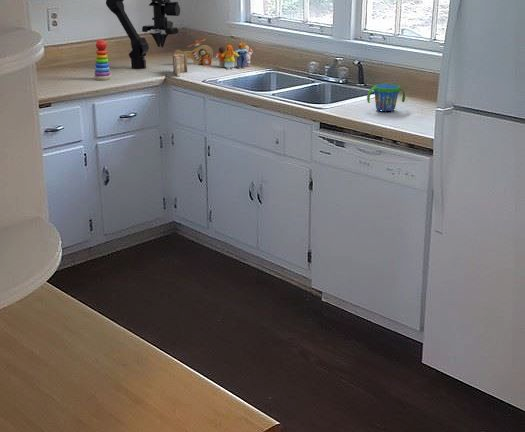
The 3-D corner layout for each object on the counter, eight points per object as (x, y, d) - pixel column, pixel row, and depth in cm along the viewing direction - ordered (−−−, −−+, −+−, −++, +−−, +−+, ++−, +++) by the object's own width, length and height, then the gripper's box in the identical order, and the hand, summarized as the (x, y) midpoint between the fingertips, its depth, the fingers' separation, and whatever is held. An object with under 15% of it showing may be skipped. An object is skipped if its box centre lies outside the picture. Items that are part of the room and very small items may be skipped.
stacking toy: (97, 81, 387) (94, 41, 380) (92, 78, 393) (89, 39, 386) (113, 79, 390) (110, 40, 383) (108, 76, 397) (105, 38, 390)
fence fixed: (178, 72, 403) (177, 53, 400) (178, 72, 405) (177, 53, 401) (187, 72, 404) (187, 53, 401) (186, 71, 406) (186, 52, 402)
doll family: (251, 65, 426) (251, 40, 421) (259, 68, 418) (259, 42, 413) (214, 68, 417) (213, 42, 413) (221, 71, 409) (221, 45, 405)
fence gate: (173, 71, 404) (172, 53, 401) (177, 71, 405) (176, 53, 401) (176, 76, 393) (176, 57, 390) (181, 75, 394) (180, 57, 390)
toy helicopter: (213, 66, 422) (213, 40, 418) (173, 67, 421) (172, 40, 416) (213, 63, 430) (212, 37, 425) (173, 64, 428) (172, 38, 423)
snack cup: (401, 107, 337) (403, 83, 333) (407, 113, 327) (408, 88, 323) (364, 107, 336) (365, 83, 332) (368, 113, 326) (370, 88, 323)
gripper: (184, 14, 403) (185, 46, 409) (154, 12, 412) (155, 43, 417) (170, 17, 394) (172, 49, 400) (140, 14, 403) (142, 46, 408)
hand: (160, 47), depth 407 cm, fingers closed
